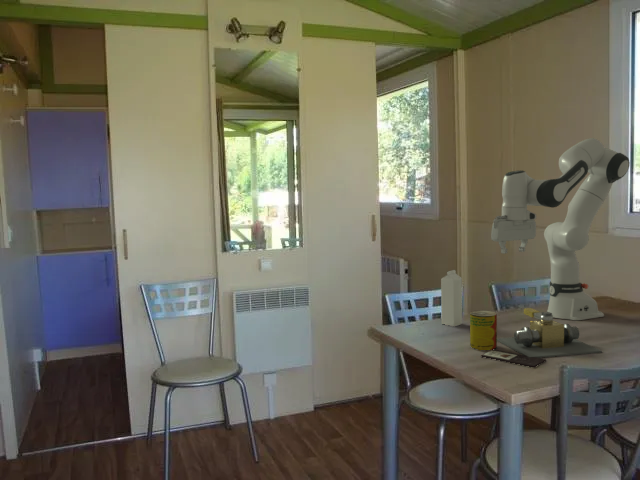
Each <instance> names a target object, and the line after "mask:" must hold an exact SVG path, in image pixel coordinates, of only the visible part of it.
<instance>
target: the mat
mask: <svg viewBox="0 0 640 480" xmlns="http://www.w3.org/2000/svg"><path fill="white" fill-rule="evenodd" d="M498 341H499V342H498ZM497 342H498V343H500V344H502V345H504V346H506V347H508V348H509V349H511V350H512V351H514V350H515V352H516V351H517V354H520V355H521V354H522V355H526V356H527V357H536V358H541V359H543V358H542V357H545V358H554V357H555V356H557V357H565V356H567V357H568V356H578V355H589V354H601V353H603V350H601V349H600V348H597V347H595V346H591V345H590V344H587V343H585V342H583V341H580V340H579V339H573V341H572V342H571V343H564V347H554V348H540V347H538V346H536V345H534V344H532V345H531V346H527V347H526V346H524V345H523V344H517V343H516V342H515V339H514V336H513V337H511V336H510V337H497Z"/></svg>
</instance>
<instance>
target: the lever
mask: <svg viewBox="0 0 640 480" xmlns="http://www.w3.org/2000/svg"><path fill="white" fill-rule="evenodd" d="M523 315H526V316H528V317H530V318H535V319H537V320H541V322H542V323H553V321H554V317H553V315H552V313H550V312H547V311H542V312H540V311H539V310H537V309H535V308H531V307H526V308H523Z"/></svg>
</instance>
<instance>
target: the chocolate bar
mask: <svg viewBox="0 0 640 480" xmlns="http://www.w3.org/2000/svg"><path fill="white" fill-rule="evenodd" d="M481 356H482V357H481ZM480 357H481V358H483V357H486V358H485V359H487V358H491V359H490V360H492V359H496V360H495V361H497V360H500V361H499V362H502V361H506V362H505V363H507V362H510V363H509V364H512V363H515V364H514V365H517V364H520V365H519V366H522V365H524V366H523V367H526V366H529V367H528V368H531V367H535V368H536V366H537V365H538V366H540V365H542V364H543V363H545V362H546V361H547V359H546V358H536V357H527V356H526V355H521V354H520V353H512V352H508V351H504V350H498V349H495V350H490V351H488V352H485V353H484V354H482V355H480ZM544 361H545V362H544ZM541 363H542V364H541ZM539 364H540V365H539ZM538 366H537V367H538Z"/></svg>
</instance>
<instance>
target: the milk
mask: <svg viewBox="0 0 640 480" xmlns="http://www.w3.org/2000/svg"><path fill="white" fill-rule="evenodd" d="M440 283H441V284H440V291H441V293H440V294H441V296H440V297H441V300H440V301H441V302H440V303H441V305H440V306H441V309H440V310H441V325H442V324H445V325H444V326H448V325H450V326H449V327H453V326H454V327H458V326H459V325H463V278H462V277H461V276H460V275H459V274H457V271H456V269H452V270H449V271H447V272H446V275H445V276H443V277H442V278H441V279H440Z"/></svg>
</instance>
